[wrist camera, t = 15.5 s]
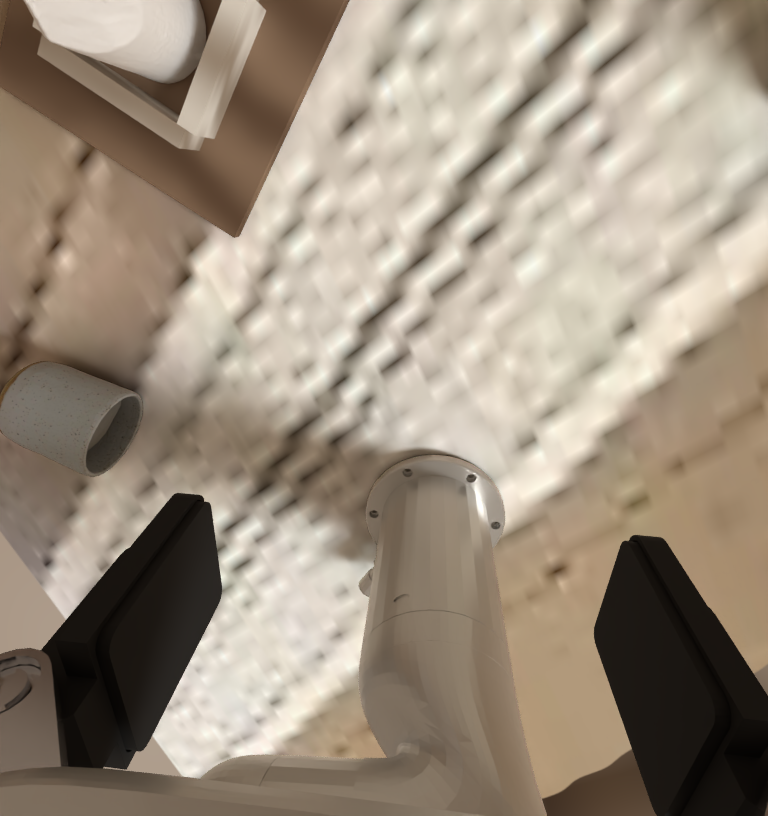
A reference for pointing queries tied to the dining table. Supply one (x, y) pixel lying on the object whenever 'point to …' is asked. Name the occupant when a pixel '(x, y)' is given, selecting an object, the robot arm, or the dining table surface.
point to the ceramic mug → (69, 416)
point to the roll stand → (185, 99)
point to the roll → (128, 33)
